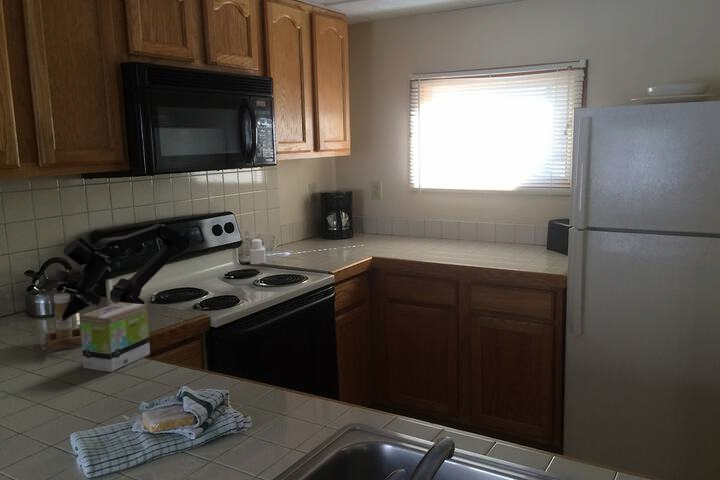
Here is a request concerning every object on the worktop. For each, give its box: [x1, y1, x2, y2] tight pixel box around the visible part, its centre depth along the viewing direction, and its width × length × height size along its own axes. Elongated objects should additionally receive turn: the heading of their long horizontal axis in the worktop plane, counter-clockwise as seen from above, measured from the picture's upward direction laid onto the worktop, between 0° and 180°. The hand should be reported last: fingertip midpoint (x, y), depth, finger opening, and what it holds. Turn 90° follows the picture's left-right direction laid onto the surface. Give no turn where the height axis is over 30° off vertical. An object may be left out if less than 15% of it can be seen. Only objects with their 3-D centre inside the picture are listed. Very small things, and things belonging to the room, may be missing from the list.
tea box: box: [79, 302, 151, 373], centre depth 165 cm, size 15×10×15 cm
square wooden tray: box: [45, 327, 82, 353], centre depth 182 cm, size 10×10×3 cm
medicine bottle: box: [249, 237, 267, 265], centre depth 301 cm, size 7×7×12 cm
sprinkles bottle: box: [53, 293, 73, 340], centre depth 181 cm, size 5×5×14 cm
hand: (58, 317), depth 180 cm, fingers closed on sprinkles bottle, 4 cm apart
